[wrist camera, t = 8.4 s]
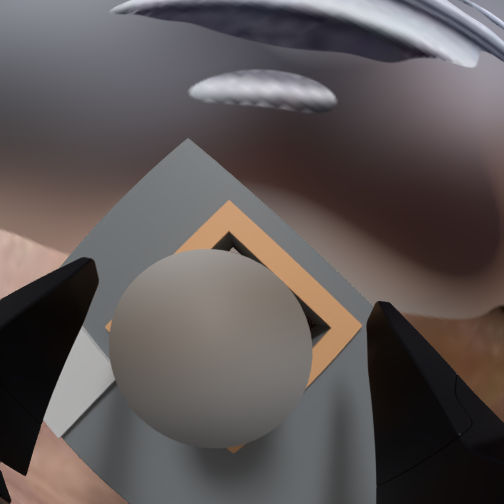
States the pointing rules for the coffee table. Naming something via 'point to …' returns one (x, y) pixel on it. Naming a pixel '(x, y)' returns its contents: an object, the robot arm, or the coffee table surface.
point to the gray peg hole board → (276, 441)
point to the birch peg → (210, 348)
